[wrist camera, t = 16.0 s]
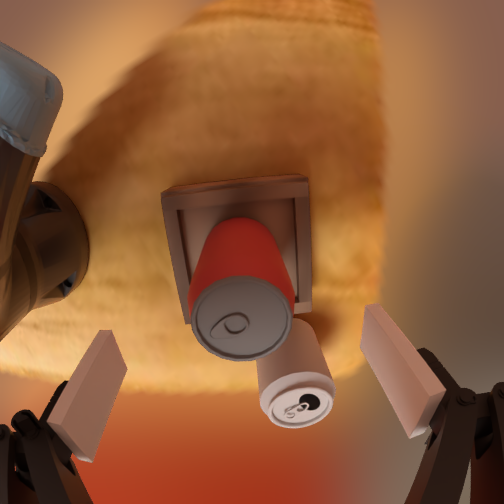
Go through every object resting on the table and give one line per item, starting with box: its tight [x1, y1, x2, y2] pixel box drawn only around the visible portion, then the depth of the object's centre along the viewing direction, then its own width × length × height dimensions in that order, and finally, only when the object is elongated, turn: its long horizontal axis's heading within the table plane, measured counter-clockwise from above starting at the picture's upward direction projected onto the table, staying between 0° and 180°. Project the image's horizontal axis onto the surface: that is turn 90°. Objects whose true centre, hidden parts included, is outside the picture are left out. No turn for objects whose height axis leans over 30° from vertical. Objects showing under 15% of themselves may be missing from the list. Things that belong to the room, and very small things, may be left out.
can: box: [256, 318, 336, 428], centre depth 29 cm, size 8×8×12 cm
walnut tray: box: [161, 174, 312, 324], centre depth 28 cm, size 13×13×5 cm
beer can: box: [187, 217, 295, 361], centre depth 21 cm, size 7×7×12 cm
